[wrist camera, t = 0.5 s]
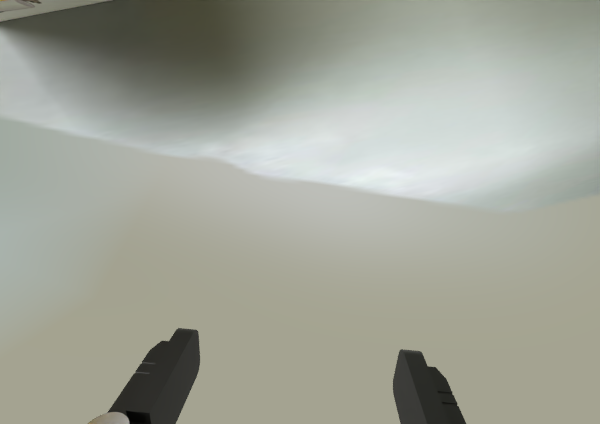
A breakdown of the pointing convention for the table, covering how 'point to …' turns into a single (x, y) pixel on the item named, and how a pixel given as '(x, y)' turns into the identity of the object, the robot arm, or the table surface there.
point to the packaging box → (37, 7)
